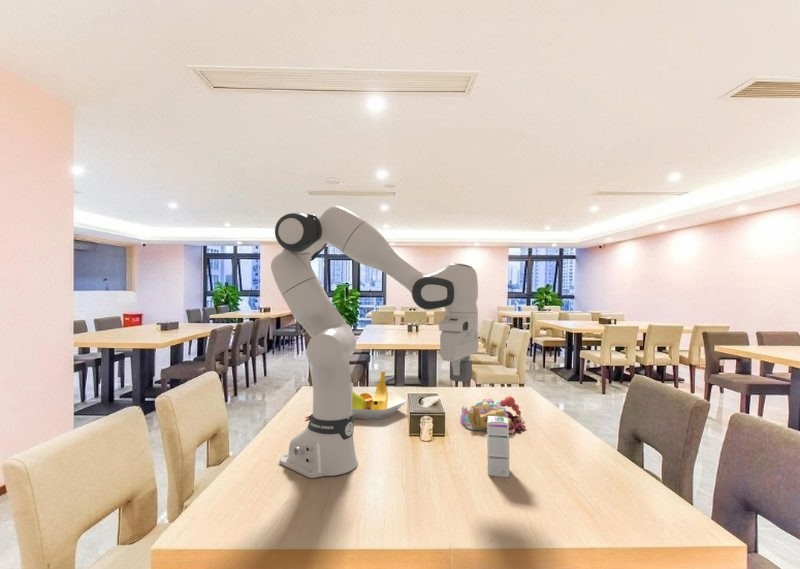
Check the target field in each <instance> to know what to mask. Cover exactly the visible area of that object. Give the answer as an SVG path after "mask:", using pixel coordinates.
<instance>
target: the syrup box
mask: <svg viewBox="0 0 800 569" xmlns="http://www.w3.org/2000/svg"><path fill="white" fill-rule="evenodd" d="M486 433H487V434H486V437H487V439H486V443H487V444H486V445H487V476H490V477H499V478H510V433H509V423H508V418H507V417H503V416H488V419H487V431H486Z"/></svg>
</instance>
